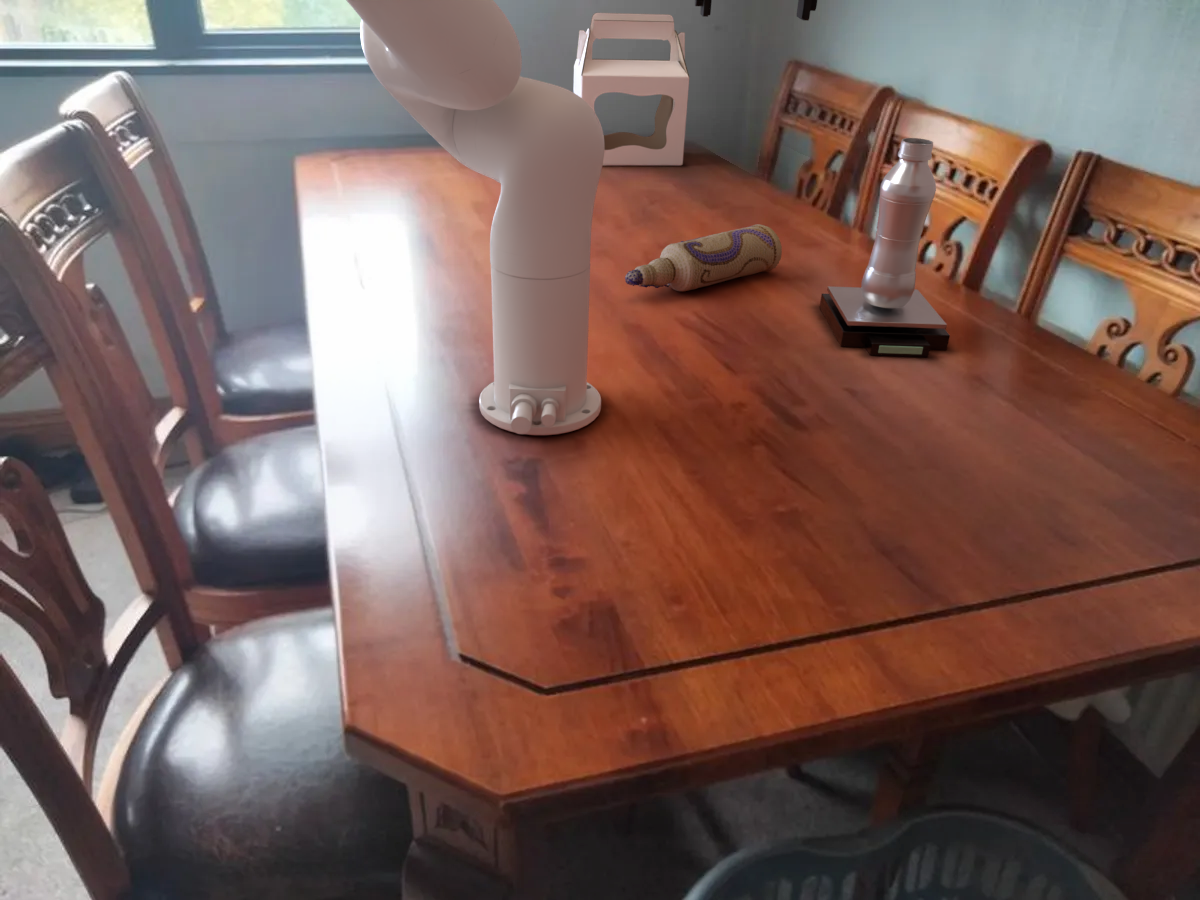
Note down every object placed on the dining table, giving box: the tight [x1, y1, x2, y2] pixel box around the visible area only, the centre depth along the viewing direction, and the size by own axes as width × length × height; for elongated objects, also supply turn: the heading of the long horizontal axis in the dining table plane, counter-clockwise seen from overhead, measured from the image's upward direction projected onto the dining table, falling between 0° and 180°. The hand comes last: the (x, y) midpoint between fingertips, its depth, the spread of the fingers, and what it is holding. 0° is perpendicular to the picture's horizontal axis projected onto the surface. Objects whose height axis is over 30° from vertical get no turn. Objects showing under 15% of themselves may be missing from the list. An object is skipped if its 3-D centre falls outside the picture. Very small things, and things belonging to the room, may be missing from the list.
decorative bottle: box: [624, 223, 783, 292], centre depth 127 cm, size 26×8×7 cm, turn 125°
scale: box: [819, 285, 951, 358], centre depth 115 cm, size 16×13×3 cm
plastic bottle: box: [860, 137, 937, 308], centre depth 110 cm, size 6×7×20 cm
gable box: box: [572, 12, 690, 167], centre depth 187 cm, size 22×13×28 cm, turn 98°
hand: (753, 17), depth 89 cm, fingers open, 9 cm apart
